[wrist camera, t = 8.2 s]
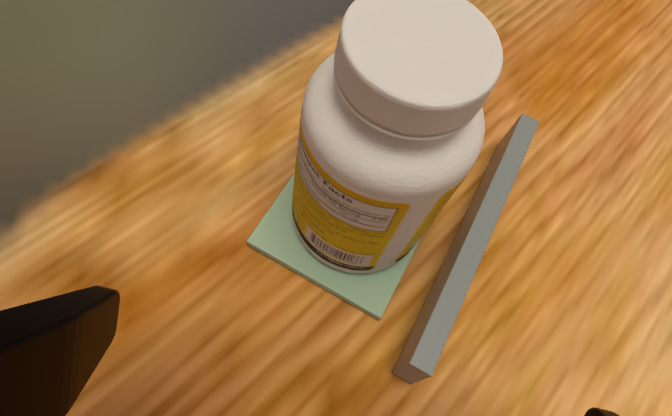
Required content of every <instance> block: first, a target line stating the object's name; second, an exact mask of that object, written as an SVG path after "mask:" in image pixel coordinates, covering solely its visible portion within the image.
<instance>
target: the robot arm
mask: <svg viewBox="0 0 672 416" xmlns="http://www.w3.org/2000/svg"><path fill="white" fill-rule="evenodd" d="M119 303H120V295H119V292H118V291H117V290H114V289H110V288H106V287H102V286H92V287H89V288H85V289H81V290H77V291H73V292H70V293H66V294H62V295H58V296H54V297H51V298H47V299H43V300H39V301H36V302H32V303H28V304H24V305H20V306H17V307H13V308H9V309H5V310H1V311H0V416H66V414H67V413H68V411H69V410H70V408H71V407H72V405H73V404H74V402H75V401H76V399H77V397H78V396H79V394H80V393H81V391H82V389H83V388H84V386H85V384H86V383H87V381H88V380H89V378H90V376H91V375H92V373H93V372H94V370H95V368H96V367H97V365H98V363H99V362H100V360H101V359H102V357H103V355H104V354H105V352H106V351H107V349H108V347H109V346H110V344H111V342H112V340H113V338H114V336H115V332H116V327H117V319H118V311H119ZM585 416H619V415H617V414H616V413H614V412H611V411H608V410H603V409H599V408H590V409H589V410H588V411H587V412H586V414H585Z"/></svg>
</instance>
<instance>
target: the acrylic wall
mask: <svg viewBox="0 0 672 416" xmlns="http://www.w3.org/2000/svg"><path fill="white" fill-rule="evenodd" d="M538 124H539V121H537V120H535V119H533V118H531V117H529V116H527V115H525V114H523V113H522V115H521V116H520V117H519V118H518V120H517V121H516V122H515V124H514V125H513V126H512V127H511V129H510V130H509V131H508V133H507V134H506V135H505V136H504V138H503V139H502V140H501V141H500V143H499V144H498V146H497V148H496V150H495V152H494V154H493V156H492V159H491V161H490V163H489V165H488V167H487V169H486V172H485V174H484V176H483V178H482V180H481V182H480V184H479V187H478V189H477V191H476V193H475V195H474V197H473V200H472V202H471V204H470V206H469V208H468V210H467V212H466V215H465V217H464V219H463V221H462V223H461V225H460V228H459V230H458V232H457V234H456V236H455V238H454V240H453V243H452V245H451V247H450V249H449V251H448V253H447V256H446V258H445V260H444V262H443V264H442V266H441V268H440V271H439V273H438V275H437V277H436V279H435V281H434V284H433V286H432V288H431V290H430V292H429V294H428V296H427V299H426V301H425V303H424V305H423V307H422V309H421V312H420V314H419V316H418V318H417V320H416V322H415V324H414V327H413V329H412V331H411V333H410V335H409V337H408V340H407V342H406V344H405V346H404V348H403V350H402V352H401V355H400V357H399V359H398V361H397V363H396V365H395V368H394V370H393V372H392V373H393V374H394V375H396V376H398V377H400V378H401V379H403V380H405V381H406V382H408V383H410V384H413V383H415V382H418V381H420V380H423V379H426V378H428V377H431V376H432V374H433V372H434V369H435V367H436V365H437V362H438V360H439V358H440V355H441V353H442V351H443V348H444V346H445V343H446V341H447V339H448V336H449V334H450V332H451V329H452V327H453V325H454V322H455V320H456V317H457V315H458V313H459V310H460V308H461V306H462V303H463V301H464V299H465V296H466V294H467V292H468V289H469V287H470V284H471V282H472V280H473V277H474V275H475V273H476V270H477V268H478V266H479V263H480V261H481V258H482V256H483V254H484V251H485V249H486V247H487V244H488V242H489V240H490V237H491V235H492V232H493V230H494V228H495V225H496V223H497V221H498V218H499V216H500V214H501V211H502V209H503V207H504V204H505V202H506V199H507V197H508V195H509V192H510V190H511V188H512V185H513V183H514V181H515V178H516V176H517V173H518V171H519V169H520V166H521V164H522V162H523V159H524V157H525V155H526V152H527V150H528V147H529V145H530V143H531V140H532V138H533V136H534V133H535V131H536V129H537V126H538Z"/></svg>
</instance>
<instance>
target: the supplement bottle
mask: <svg viewBox="0 0 672 416" xmlns="http://www.w3.org/2000/svg"><path fill="white" fill-rule="evenodd" d="M502 65H503V52H502V46H501V42H500V39H499V37H498V34H497V32H496V30H495V29H494V27H493V25H492V24H491V23H490V21H489V20H488V19H487V18H486V17H485V16H484V15H483V14H482V13H481V12H480V11H479V10H478V9H477V8H476V7H475V6H474V5H472V4H471V3H470V2H468V1H467V0H355V1H354V2H353V3H352V4H351V5H350V7H349V8H348V10H347V11H346V13H345V15H344V17H343V20H342V24H341V29H340V33H339V38H338V42H337V46H336V50H335V53H333V54H332V55H331V56H329V57H328V58H327V59H326V60H325V61H324V62H322V63H321V65H320V66H319V67H318V68H317V69H316V71H315V72H314V74H313V76H312V77H311V79H310V81H309V83H308V86H307V88H306V91H305V94H304V99H303V104H302V110H301V118H300V128H299V138H298V147H297V157H296V166H295V176H294V186H293V198H292V214H293V221H294V225H295V228H296V230H297V233H298V235H299V237H300V239H301V241H302V242H303V244H304V245H305V247H306V248H307V249H308V250H309V251H310V252H311V253H312V254H313V255H314V256H315V257H316V258H317V259H319V260H320V261H321V262H323V263H325V264H327V265H328V266H331V267H333V268H335V269H338V270H341V271H345V272H349V273H359V274H360V273H373V272H377V271H381V270H384V269H386V268H389V267H391V266H393V265H394V264H396V263H398V262H399V261H400V260H401V259H403V258H404V257H405V256H406V255H407V254H408V253H409V252H410V250H411V249H412V248H413V247H414V246H415V245H416V243H417V242H418V241H419V239H420V238H421V237H422V235H423V234H424V232H425V231H426V230H427V228H428V227H429V226H430V224H431V223H432V222H433V220H434V219H435V218H436V216H437V215H438V214H439V212H440V211H441V210H442V208H443V207H444V205H445V204H446V203H447V201H448V200H449V199H450V197H451V196H452V195H453V193H454V192H455V191H456V190H457V188H458V187H459V186H460V184H461V183H462V182H463V180H464V179H465V178H466V176H467V175H468V173H469V172H470V170H471V168H472V167H473V165H474V164H475V162H476V160H477V158H478V156H479V154H480V151H481V148H482V145H483V141H484V133H485V120H484V113H483V109H482V106H483V104H484V102H485V101H486V99H487V97H488V96H489V94H490V92H491V91H492V89H493V87H494V86H495V84H496V82H497V80H498V78H499V76H500V73H501V69H502Z"/></svg>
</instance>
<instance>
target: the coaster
mask: <svg viewBox="0 0 672 416" xmlns="http://www.w3.org/2000/svg"><path fill="white" fill-rule="evenodd" d="M294 176H295V173H294V174H293V176H292V177H291V179H290V180H289V182H288V183H287V184H286V186H285V187H284V189H283V190H282V192H281V193H280V194H279V196H278V197H277V199H276V200H275V202H274V203H273V204H272V206H271V207H270V209H269V210H268V212H267V213H266V214H265V216H264V217H263V219H262V220H261V222H260V223H259V224H258V226H257V227H256V229H255V230H254V232H253V233H252V234H251V236H250V237H249V239H248V240H247V245H248V246H250V247H252V248H253V249H255V250H257V251H259V252H260V253H262V254H264V255H266V256H267V257H269V258H271V259H273V260H274V261H276V262H278V263H280V264H281V265H283V266H285V267H286V268H288V269H290V270H292V271H293V272H295V273H297V274H299V275H300V276H302V277H304V278H306V279H307V280H309V281H311V282H313V283H314V284H316V285H318V286H320V287H321V288H323V289H325V290H327V291H328V292H330V293H332V294H334V295H335V296H337V297H339V298H341V299H342V300H344V301H346V302H348V303H349V304H351V305H353V306H354V307H356V308H358V309H360V310H361V311H363V312H365V313H367V314H368V315H370V316H372V317H374V318H375V319H377V320H380V319H381V317H382V315H383V313H384V311H385V309H386V307H387V305H388V303H389V301H390V299H391V297H392V295H393V293H394V291H395V289H396V287H397V285H398V283H399V281H400V279H401V277H402V275H403V273H404V271H405V269H406V267H407V265H408V263H409V261H410V259H411V257H412V255H413V253H414V251H415V249H416V247H417V245H418V243H419V241H420V239H421V238H420V239H419V241H418V242H417V243H416V245H415V246H414V247H413V248H412V249H411V250H410V252H409V253H408V254H407V255H406V256H405V257H404V258H403V259H401V260H400V261H399V262H398V263H396V264H394V265H393V266H391V267H389V268H386V269H384V270H381V271H377V272H373V273H360V274H359V273H349V272H345V271H341V270H338V269H335V268H333V267H331V266H328V265H327V264H325V263H323V262H321V261H320V260H319V259H317V258H316V257H315V256H314V255H313V254H312V253H311V252H310V251H309V250H308V249H307V248H306V247H305V245H304V244H303V242H302V241H301V239H300V237H299V235H298V233H297V230H296V228H295V225H294V221H293V214H292V198H293V186H294Z"/></svg>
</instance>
